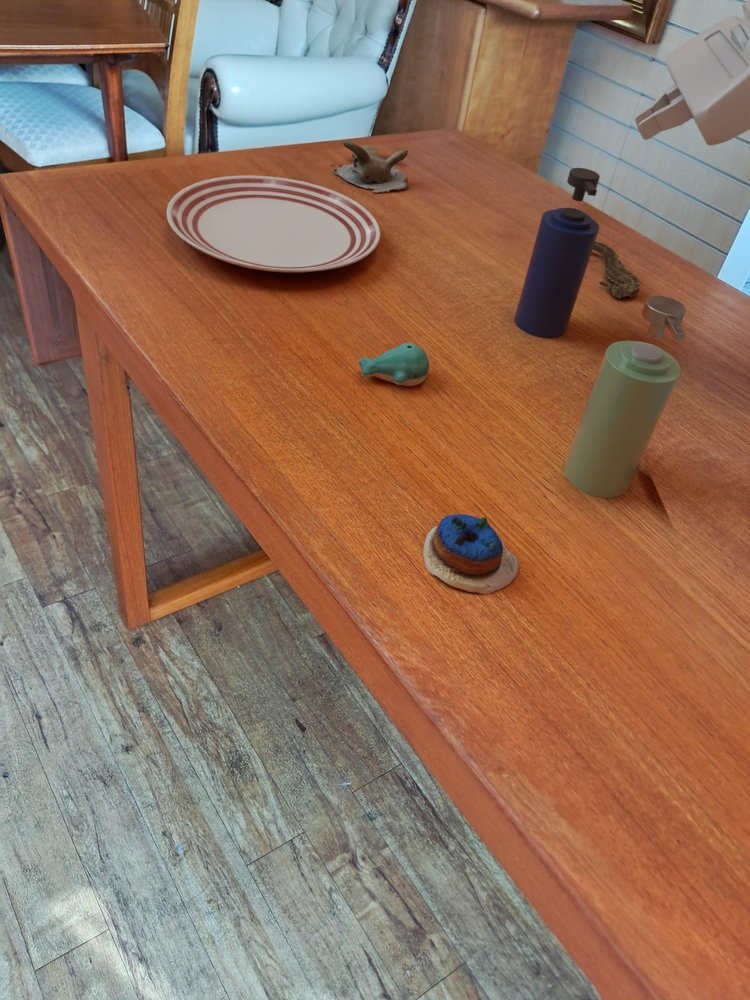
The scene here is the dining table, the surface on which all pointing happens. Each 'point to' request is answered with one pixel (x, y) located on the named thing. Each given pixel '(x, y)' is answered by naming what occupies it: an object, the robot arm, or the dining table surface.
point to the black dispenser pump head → (583, 182)
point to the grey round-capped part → (664, 317)
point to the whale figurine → (398, 365)
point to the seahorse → (617, 273)
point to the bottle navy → (555, 272)
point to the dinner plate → (273, 223)
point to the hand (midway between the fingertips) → (638, 129)
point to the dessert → (469, 555)
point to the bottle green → (620, 417)
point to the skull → (373, 169)
